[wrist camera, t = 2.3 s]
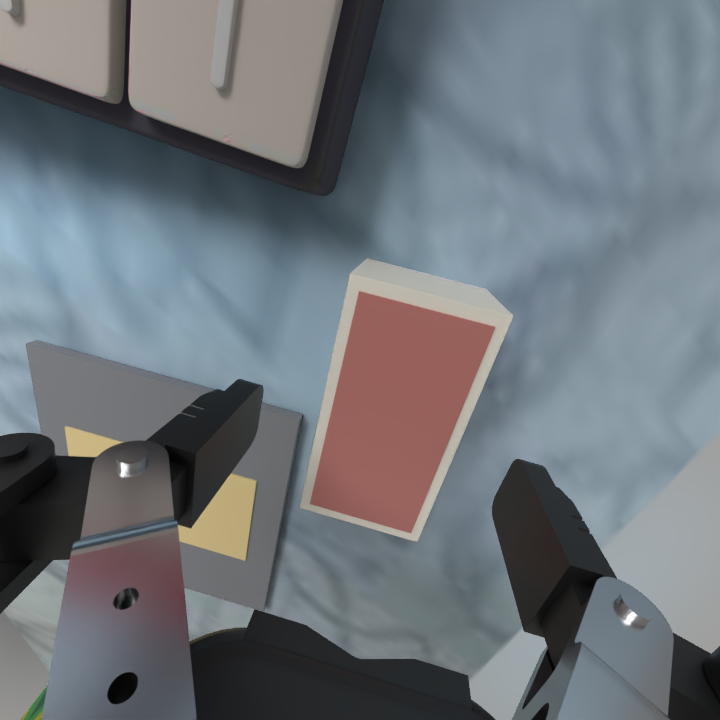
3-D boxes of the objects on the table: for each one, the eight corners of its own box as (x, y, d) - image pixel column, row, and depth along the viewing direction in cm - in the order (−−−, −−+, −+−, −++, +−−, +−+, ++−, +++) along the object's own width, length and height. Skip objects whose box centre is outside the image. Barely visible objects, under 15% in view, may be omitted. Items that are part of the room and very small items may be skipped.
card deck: (367, 257, 13) (349, 273, 9) (485, 288, 13) (514, 316, 9) (324, 443, 17) (298, 509, 13) (416, 469, 16) (417, 544, 13)
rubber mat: (36, 340, 16) (23, 344, 16) (302, 414, 16) (298, 421, 15) (69, 543, 22) (60, 551, 21) (266, 603, 21) (262, 613, 21)
